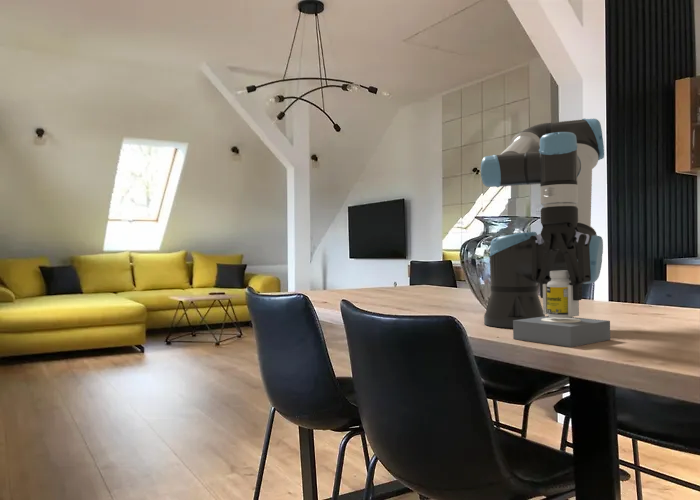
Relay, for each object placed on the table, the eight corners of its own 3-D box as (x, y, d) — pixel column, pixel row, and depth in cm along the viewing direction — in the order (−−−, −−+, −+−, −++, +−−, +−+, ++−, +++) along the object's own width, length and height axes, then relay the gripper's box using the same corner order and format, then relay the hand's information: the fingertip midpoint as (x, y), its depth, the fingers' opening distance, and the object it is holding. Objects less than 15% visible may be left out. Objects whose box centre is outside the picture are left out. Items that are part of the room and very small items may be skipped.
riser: (513, 338, 127) (513, 319, 127) (553, 332, 136) (552, 314, 136) (570, 347, 116) (570, 325, 116) (610, 339, 124) (609, 319, 124)
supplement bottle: (542, 316, 127) (540, 271, 127) (561, 314, 129) (560, 270, 129) (559, 318, 122) (558, 271, 122) (580, 317, 124) (578, 270, 124)
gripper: (512, 208, 131) (514, 312, 131) (588, 202, 116) (590, 320, 116) (534, 209, 135) (535, 310, 136) (609, 203, 120) (611, 317, 121)
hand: (560, 314), depth 126 cm, fingers open, 5 cm apart
